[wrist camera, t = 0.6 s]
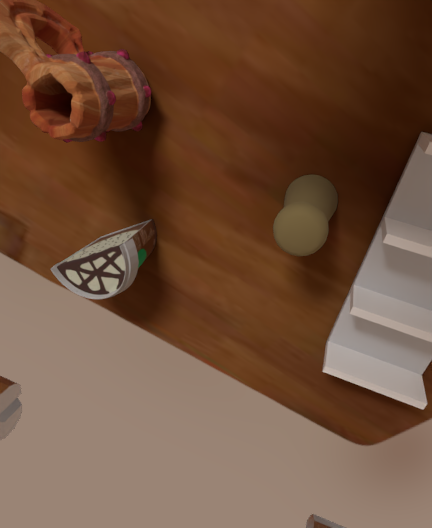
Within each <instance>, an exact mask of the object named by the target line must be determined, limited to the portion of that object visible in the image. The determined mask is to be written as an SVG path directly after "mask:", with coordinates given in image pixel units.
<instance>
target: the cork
mask: <svg viewBox="0 0 432 528" xmlns="http://www.w3.org/2000/svg"><path fill="white" fill-rule="evenodd" d="M337 204H338V194H337V192H336V189H335V187H334V186H333V184H332V183H331V182H330V181H329V180H327V179H326V178H324V177H322V176H318V175H313V174H312V175H304V176H302V177H299V178H297V179H296V180H294V181H293V182H292V183H291V184H290V185H289V187H288V189H287V191H286V194H285V199H284V208H283V209H282V210H281V211H280V212H279V213H278V215H277V217H276V219H275V220H274V225H273V233H274V238H275V240H276V242H277V244H278V246H279V247H280V248H281V249H282V250H283V251H285V252H287V253H289V254H291V255H295V256H307V255H310V254H313V253H315V252H316V251H317V250H319V249H320V248H321V247H322V246H323V244H324V243H325V241H326V240H327V236H328V232H329V227H328V221H329V220H330V218H331V217H332V215H333V214H334V212H335V211H336V208H337Z"/></svg>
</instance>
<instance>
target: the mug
mask: <svg viewBox="0 0 432 528" xmlns="http://www.w3.org/2000/svg"><path fill="white" fill-rule="evenodd" d="M35 37H36V38H38V39H40V40H42V41H43V42H45V43H47V44H48V45H50V46H51V47H52V49H53V50H54V51H56V52H57V53H58V55H54V56H52V55H49V54H47V55H45V54H44V53H43V51H42V50H41V48H40V47H39V46H38V44H37V42H36V38H35ZM0 51H1V52H2V53H3V54H5V55H6V56H7V57H8V58H10V59H11V60H12V61H13V62H14V63H15V64H16V65H17V66H18V67H19V69H20V70H21V71H22V73H23V74H24V75H25V76H26V77H25V78H26V80H27V86H25V87H24V88H23V90H22V96H23V103H24V105H25V107H26V108H27V109H28V110H29V111H30V118H31V121H32V122H33V123H34V125H35V126H36V127H38V128H40V129H41V130H42V132H44V133H49V134H50V136H51V137H53V138H55V139H58V140H63V141H65V142H66V143H67V142H70V141H72V140H73V141H78V142H83V141H89V140H92V139H95V140H97V141H104V140H106V132H109V131H110V130H112V131H118V132H119V131H126V130H129V129H133V130H134V131H140V130H141V129H142V120H143V119H144V117H145V115H146V114H147V113H148V111H149V108H150V104H151V88H150V87H149V86H148V83H147V80H146V78H145V75H144V74H143V73H142V71H141V70H140V69H139V67H138V66H137V65H136V64H135V63H134V62H133V61H132V60H131V59H130V58H129V54H128V52H127V51H126V50H124V49H120V50H118V51H117V52H115V51H105V52H97V53H94V54H93V52H89V51H88V52H84V51H83V46H82V37H81V34H80V30H79V29H77V28H76V27H74V26H73V25H71V24H70V23H69V22H68V21H66V20H65V19H64V18H63V17H61V16H60V15H58V14H57V13H56V12H54V11H53V10H52V9H50V8H49V7H47V6H46V5H44V4H42V3H40V2H38V1H36V0H0Z"/></svg>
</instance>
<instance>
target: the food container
mask: <svg viewBox="0 0 432 528" xmlns="http://www.w3.org/2000/svg"><path fill="white" fill-rule="evenodd" d="M156 240H157V233H156V227H155V224H154V221H153V219H151V220H148V221H145V222H142V223H139V224H136V225H134V226H131V227H128V228H125V229H122V230H119V231H116V232H113V233H111V234H108V235H105V236H102V237H100V238H98V239H97V240H95V241H93V242H92V243H90V244H89V245H87V246H86V247H84V248H82V249H81V250H79V251H78V252H76V253H75V254H73V255H71V256H70V257H68V258H67V259H65V260H64V261H62V262H60V263H57V264H56V265H55V266H53V268H51V271H52V272H53V274H54V275H55V276H56V278H57V279H58V280H59V281H60V282H61V283H62V284H63V285H64V286H65V287H67V288H68V289H69V290H71V291H73V292H74V293H76V294H78V295H80V296H83V297H86V298H90V299H103V298H109V297H112V296H115V295H117V294H119V293H121V292H123V291H124V290H126V289H127V288H128V287H129V286H130V285H131V284H132V283H133V281H134V280H135V277H136V275H137V271H138V268H139V267H140V266H141V264H142V263H143V262H144V261H145V260H146V259H147V257H148V256H149V255H150V254H151V253H152V251H153V250H154V247H155V245H156Z"/></svg>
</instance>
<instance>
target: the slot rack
mask: <svg viewBox="0 0 432 528" xmlns="http://www.w3.org/2000/svg"><path fill="white" fill-rule="evenodd" d="M431 360H432V134H429V133H425V132H421V133H420V135H419V138H418V140H417V142H416V144H415V146H414V149H413V151H412V153H411V155H410V158H409V160H408V162H407V164H406V166H405V169H404V171H403V173H402V175H401V177H400V180H399V182H398V184H397V186H396V189H395V191H394V193H393V195H392V197H391V200H390V202H389V204H388V206H387V208H386V211H385V213H384V215H383V217H382V220H381V222H380V224H379V226H378V228H377V231H376V233H375V235H374V237H373V239H372V242H371V244H370V246H369V248H368V251H367V253H366V255H365V257H364V259H363V262H362V264H361V266H360V268H359V270H358V273H357V275H356V277H355V279H354V282H353V284H352V286H351V288H350V290H349V293H348V295H347V297H346V299H345V301H344V304H343V306H342V308H341V310H340V313H339V315H338V317H337V319H336V321H335V324H334V326H333V328H332V330H331V332H330V335H329V337H328V339H327V341H326V347H325V355H324V363H323V371H322V372H325V373H327V374H330V375H333V376H335V377H338V378H341V379H343V380H346V381H349V382H351V383H354V384H356V385H359V386H362V387H364V388H367V389H370V390H372V391H375V392H378V393H380V394H383V395H386V396H388V397H391V398H393V399H396V400H399V401H401V402H404V403H407V404H409V405H412V406H415V407H417V408H420V409H423V410H424V408H425V407H426V405H427V400H426V395H425V389H424V384H423V379H422V374H423V372H424V371H425V369H426V368H427V366H428V365H429V363H430V362H431Z"/></svg>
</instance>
